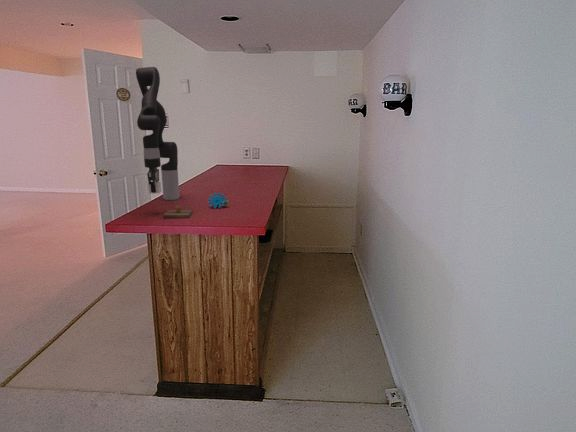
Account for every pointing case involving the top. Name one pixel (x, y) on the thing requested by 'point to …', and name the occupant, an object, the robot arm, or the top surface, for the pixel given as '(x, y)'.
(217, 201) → the blue piece
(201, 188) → the top surface
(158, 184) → the pale grey cube block
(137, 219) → the top surface
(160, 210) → the top surface
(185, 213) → the board
